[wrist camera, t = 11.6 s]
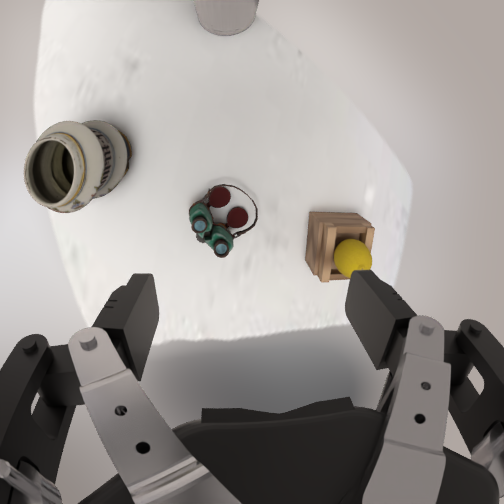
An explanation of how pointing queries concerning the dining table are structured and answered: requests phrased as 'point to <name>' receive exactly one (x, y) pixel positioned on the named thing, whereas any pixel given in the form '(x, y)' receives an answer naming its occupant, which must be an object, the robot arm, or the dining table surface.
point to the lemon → (352, 257)
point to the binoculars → (218, 232)
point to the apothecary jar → (76, 164)
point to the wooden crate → (333, 240)
